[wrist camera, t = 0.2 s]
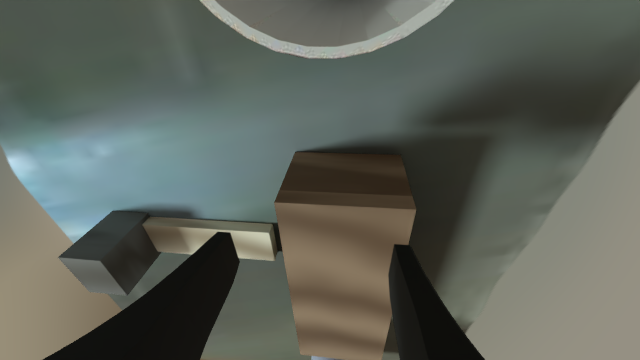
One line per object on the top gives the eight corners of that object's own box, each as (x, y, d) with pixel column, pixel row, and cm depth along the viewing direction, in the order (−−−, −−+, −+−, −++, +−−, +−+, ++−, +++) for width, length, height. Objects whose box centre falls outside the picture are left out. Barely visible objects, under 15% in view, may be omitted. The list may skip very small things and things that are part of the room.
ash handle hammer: (278, 254, 28) (261, 309, 23) (134, 243, 30) (89, 291, 25) (271, 220, 25) (250, 273, 20) (112, 210, 27) (57, 257, 22)
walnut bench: (376, 303, 30) (380, 364, 25) (309, 297, 31) (300, 354, 26) (400, 154, 19) (416, 209, 14) (295, 152, 20) (274, 202, 15)
